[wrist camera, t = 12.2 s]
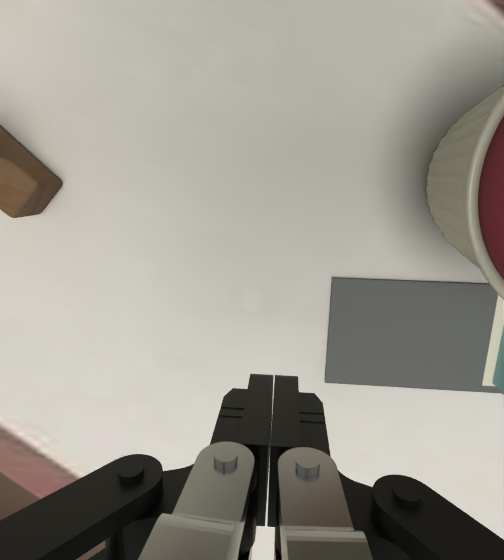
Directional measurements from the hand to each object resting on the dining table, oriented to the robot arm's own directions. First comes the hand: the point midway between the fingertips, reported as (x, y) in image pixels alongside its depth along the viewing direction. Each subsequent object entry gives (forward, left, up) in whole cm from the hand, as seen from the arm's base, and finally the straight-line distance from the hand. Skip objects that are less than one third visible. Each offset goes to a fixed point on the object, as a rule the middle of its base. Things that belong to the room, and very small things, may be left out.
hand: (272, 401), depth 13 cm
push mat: (+9, +19, -29) cm, 36 cm away
